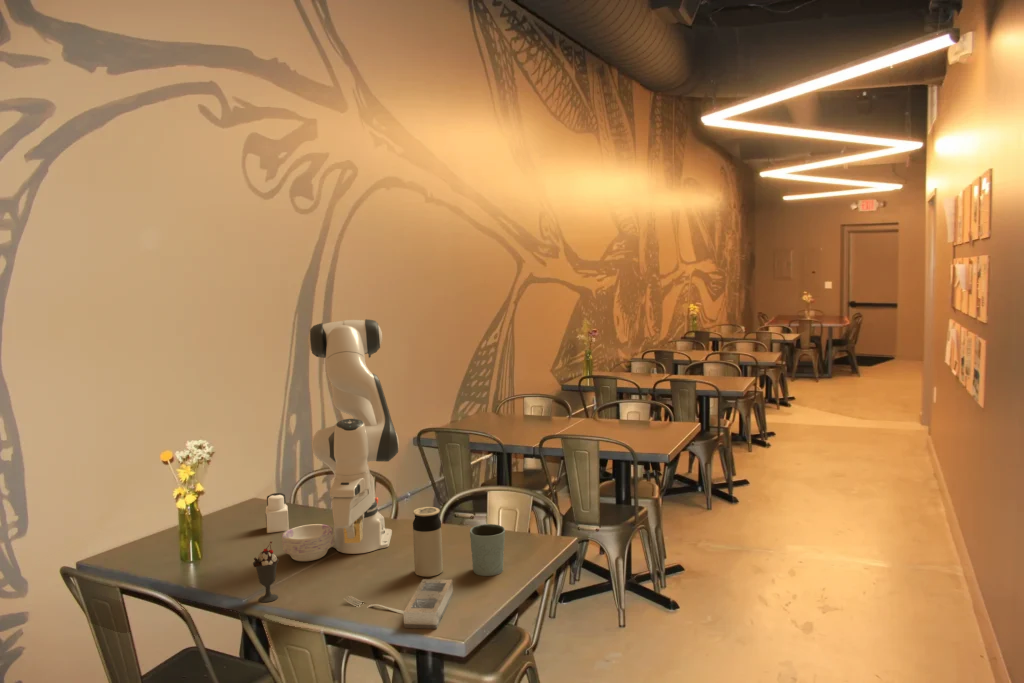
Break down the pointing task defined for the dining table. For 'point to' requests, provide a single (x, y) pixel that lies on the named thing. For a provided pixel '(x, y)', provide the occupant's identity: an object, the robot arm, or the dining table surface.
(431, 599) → the tan windowed box
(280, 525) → the medicine bottle
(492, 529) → the green cup
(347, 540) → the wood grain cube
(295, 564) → the dining table surface
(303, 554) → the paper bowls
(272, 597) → the sundae
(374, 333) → the robot arm
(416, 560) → the travel mug
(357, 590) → the dining table surface
